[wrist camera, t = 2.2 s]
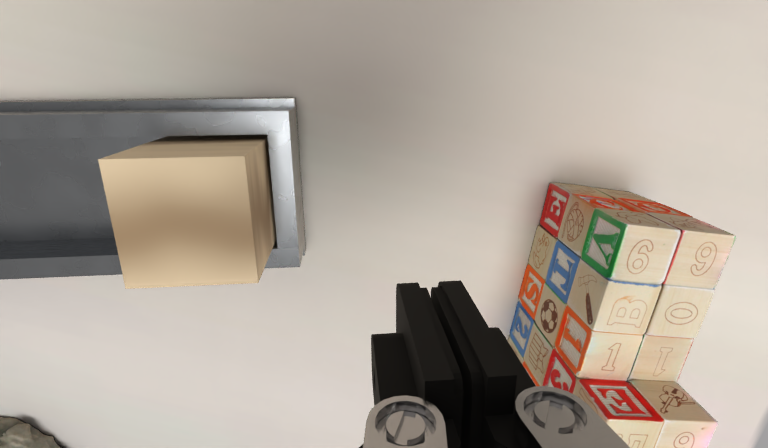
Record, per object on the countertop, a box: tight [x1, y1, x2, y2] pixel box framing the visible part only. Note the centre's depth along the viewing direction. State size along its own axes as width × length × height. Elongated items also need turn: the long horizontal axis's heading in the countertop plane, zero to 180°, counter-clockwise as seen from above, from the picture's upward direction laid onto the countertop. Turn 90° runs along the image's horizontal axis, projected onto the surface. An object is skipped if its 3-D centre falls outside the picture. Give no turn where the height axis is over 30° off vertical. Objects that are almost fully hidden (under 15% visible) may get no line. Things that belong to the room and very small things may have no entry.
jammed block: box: [98, 134, 277, 289], centre depth 23 cm, size 6×6×8 cm
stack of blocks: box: [508, 183, 736, 448], centre depth 28 cm, size 21×6×12 cm, turn 172°
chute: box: [0, 98, 306, 279], centre depth 26 cm, size 10×26×4 cm, turn 90°
